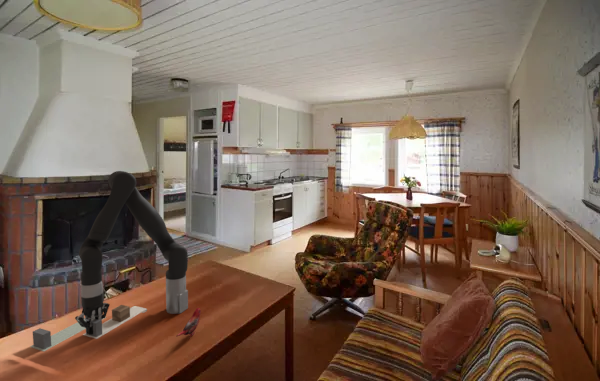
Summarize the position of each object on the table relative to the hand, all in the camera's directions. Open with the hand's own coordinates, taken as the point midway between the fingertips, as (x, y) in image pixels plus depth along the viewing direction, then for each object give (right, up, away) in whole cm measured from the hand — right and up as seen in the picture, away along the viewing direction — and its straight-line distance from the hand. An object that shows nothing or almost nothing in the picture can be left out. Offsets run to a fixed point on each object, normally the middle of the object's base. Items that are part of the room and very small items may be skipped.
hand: (94, 332), depth 125 cm
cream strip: (+3, -1, +11) cm, 11 cm away
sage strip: (-11, -1, +2) cm, 11 cm away
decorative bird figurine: (+39, -3, +2) cm, 40 cm away
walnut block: (+4, 0, +12) cm, 13 cm away
